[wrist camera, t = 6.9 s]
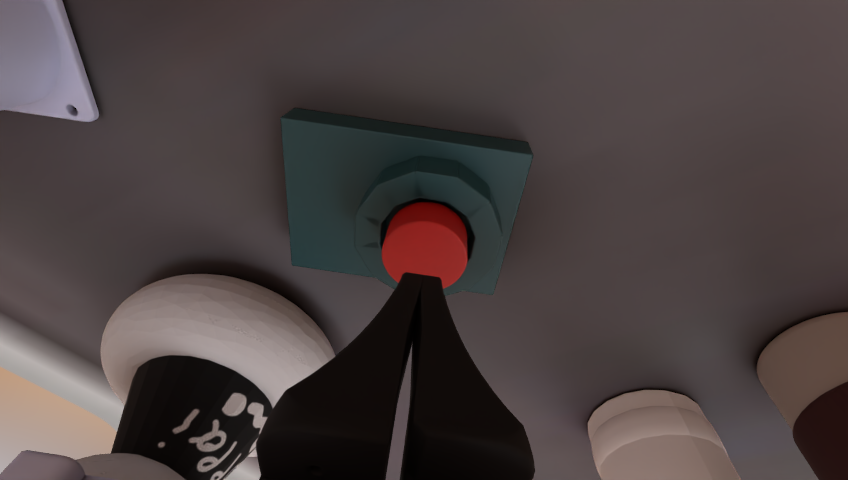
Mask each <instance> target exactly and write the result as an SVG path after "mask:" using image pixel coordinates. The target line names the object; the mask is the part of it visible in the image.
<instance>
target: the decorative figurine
mask: <svg viewBox="0 0 848 480" xmlns="http://www.w3.org/2000/svg"><path fill="white" fill-rule="evenodd" d="M334 357H335V354H334V351H333V348H332V347H331V345H330V343H329V341H328V339H327V338H326V336H325V335H324V333H323V331H322V330H321V329H320V328H319V327H318V325H317V324H316V323H315V322H314V321H313V320H312V319H311V318H310V317H309V316H308V315H307V314H306V313H305V312H303V311H302V310H301V309H300V308H299V307H298V306H296V305H295V304H293V303H292V302H290V301H289V300H287V299H286V298H284V297H282V296H281V295H279V294H277V293H275V292H273V291H271V290H269V289H267V288H264V287H262V286H260V285H257V284H255V283H252V282H248V281H245V280H241V279H238V278H234V277H229V276H224V275H213V274H187V275H179V276H173V277H170V278H166V279H163V280H159V281H157V282H154V283H152V284H149V285H147V286H144V287H143V288H141V289H140V290H138V291H137V292H135V293H134V294H132V295H131V296H130V297H128V298H127V299H126V300H125V301H123V302H122V304H121V305H120V306H119V307H118V308H117V309H116V311H115V312H114V314H113V315H112V316H111V318H110V319H109V321H108V323H107V325H106V328H105V330H104V333H103V337H102V343H101V361H102V367H103V370H104V372H105V375H106V378H107V380H108V382H109V384H110V386H111V388H112V390H113V392H114V393H115V394H116V395H117V397H118V398H119V399H120V400H121V402H122V403H123V404H124V405H125V407H124V410H123V413H122V417H121V420H120V424H119V427H118V431H117V434H116V438H115V441H114V444H113V448H112V451H111V454H100V455H93V456H89V457H85V458H81V459H78V460H76V461H77V462H78V463H80V464H81V466H82V467H83V470H84V472H85V475H91V476H98V477H105V478H111V479H118V480H224V479H225V478H226V477H227V476H228V475H229V474H230V473H231V472H232V471H233V470H234V469H235V468H236V467H237V466H238V465H239V464H240V463H241V462H242V461H243V460H244V459H245V458H246V457H257V452H256V441H257V439H258V437H259V435H260V433H261V430H262V428H263V426H264V424H265V422H266V420H267V418H268V416H269V414H270V413H271V411H272V409H273V408H274V406H275V405H276V403H277V402H278V400H279V399H280V397H281V396H282V395H283V393H284V392H285V391H286V390H287V389H288V388H290V387H292V386H293V385H295V384H296V383H298V382H300V381H301V380H303V379H304V378H306V377H308V376H309V375H311V374H312V373H314V372H315V371H317V370H318V369H319V368H321V367H322V366H323V365H325V364H326V363H327V362H329V361H330V360H331V359H333V358H334Z"/></svg>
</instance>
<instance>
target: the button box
mask: <svg viewBox="0 0 848 480" xmlns="http://www.w3.org/2000/svg"><path fill="white" fill-rule="evenodd" d="M281 131H282V144H283V157H284V170H285V183H286V196H287V209H288V222H289V234H290V247H291V260H292V265H293V266H300V267H307V268H313V269H320V270H327V271H334V272H340V273H347V274H354V275H361V276H367V277H374V278H377V279H379V280H380V281H382V282H383V283H385V284H387V285H388V286H390V287H392V288H393V289H396V287H397V285H398V282H397V281H395V280H394V279H393V278H392V277H391V276H390V275H389V273H388V272H387V270H386V269H385V266H384V264H383V261H382V246H383V243H384V240H385V237H386V233H387V230H388V227H389V224H390V222H391V220H392V218H393V217H394V215H395V214H396V213H397V212H398V211H400V210H401V209H402V208H404V207H406V206H408V205H410V204H414V203H418V202H433V203H438V204H441V205H444V206H446V207H448V208H449V209H451V210H452V211H454V212H455V213H456V214H457V215H458V216H459V217H460V218H461V220H462V221H463V223H464V225H465V228H466V231H467V254H468V260H467V265H466V268H465V270H464V272H463V274H462V275H461V277H460V278H459V279H458V280H457V281H456V282H455V283H453V284H452V285H450V286H448V287H446V288H444V289H443V291H444V295H445V296H446V295H450V294H454V293H457V292H461V291H468V292H475V293H482V294H488V295H493V294H494V290H495V287H496V283H497V280H498V276H499V273H500V269H501V266H502V263H503V259H504V256H505V252H506V249H507V245H508V242H509V238H510V235H511V231H512V228H513V224H514V221H515V218H516V214H517V211H518V207H519V204H520V200H521V197H522V193H523V190H524V186H525V183H526V180H527V176H528V173H529V169H530V166H531V162H532V159H533V153H532V151H531V148H530V146H529V144H528V142H523V141H516V140H509V139H502V138H496V137H489V136H482V135H475V134H468V133H462V132H455V131H448V130H441V129H435V128H428V127H421V126H414V125H408V124H401V123H394V122H387V121H380V120H374V119H367V118H360V117H353V116H347V115H340V114H333V113H326V112H319V111H313V110H306V109H299V108H294V109H292V110H291V111H289V112H288V113H286V114H285V115H284V116H282V117H281Z"/></svg>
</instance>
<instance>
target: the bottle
mask: <svg viewBox="0 0 848 480" xmlns="http://www.w3.org/2000/svg"><path fill="white" fill-rule="evenodd" d="M588 435H589V438H590V442H591V445H592V453H593V458H594V461H595V465H596V468H597V471H598V474H599V475H600V477H601V480H741V478H740V477H739V475H738V473H737V471H736V470H735V468H734V466H733V464H732V463H731V461H730V459H729V456H728V454H727V452H726V450H725V448H724V446H723V444H722V442H721V440H720V438H719V436H718V434H717V433H716V431H715V429H714V428H713V426H712V425H711V423H710V422H709V421H708V420H707V419H706V417H705V415H704V414H703V412H702V410H701V408H700V407H699V405H698V404H697V403H696V402H694V401H693V400H691V399H690V398H688V397H687V396H685V395H681V394H677V393H674V392H670V391H666V390H640V391H635V392H630V393H624V394H622V395H620V396H617V397H615V398H612V399H610V400H608V401H606V402H605V403H604V404H603V405H601V406H600V407H599V408H597V409H596V410H595V411H594V412H593V414H592V416H591V417H590V419H589V421H588Z"/></svg>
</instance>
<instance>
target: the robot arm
mask: <svg viewBox="0 0 848 480" xmlns="http://www.w3.org/2000/svg"><path fill="white" fill-rule="evenodd" d="M73 106H74V107H75V108H76V109H77V111H78V112H77V111H75V109H74V108H73ZM1 110H9V111H16V112H23V113H30V114H36V115H43V116H50V117H57V118H63V119H70V120H77V121H84V122H91V121H94V120H96V119H98V117H99V111H98V108H97V105H96V102H95V99H94V96H93V93H92V90H91V87H90V84H89V81H88V78H87V75H86V72H85V68H84V65H83V62H82V59H81V56H80V53H79V50H78V47H77V44H76V41H75V38H74V35H73V32H72V29H71V26H70V23H69V20H68V17H67V13H66V10H65V7H64V4H63V1H62V0H0V111H1ZM412 341H413V343H412ZM411 345H412V367H411V392H410V406H409V415H408V422H407V430H406V437H405V445H404V452H403V460H402V467H401V474H400V480H532V479H533V476H534V473H535V468H534V460H533V455H532V451H531V447H530V444H529V441H528V437H527V435H526V432H525V429H524V426H523V425H522V424H521V423H520V422H519V421H518V419H517V418H516V417H515V416H514V415H513V414H512V413H511V412H510V411H509V410H508V409H507V408H506V406H505V405H504V404H503V403H502V402H501V400H500V399H499V398H498V397H497V395H496V394H495V393H494V392H493V390H492V389H491V387H490V386H489V384H488V383H487V382H486V380H485V379H484V377H483V376H482V375H481V373H480V372H479V370H478V369H477V367H476V365H475V364H474V362H473V360H472V359H471V357H470V355H469V353H468V352H467V350H466V348H465V346H464V344H463V342H462V340H461V338H460V336H459V334H458V331H457V329H456V327H455V324H454V322H453V319H452V317H451V314H450V311H449V309H448V306H447V302H446V299H445V295H444V291H443V286H442V280H441V279H440V277H435V276H429V275H422V274H415V273H409V272H405V273H404V274H402V277H401V279H400V281H399V283H398V285H397V287H396V289H395V290H394V292H393V293H392V295H391V296H390V298H389V299H388V301H387V302H386V304H385V305H384V306H383V308H382V309H381V310H380V312H379V313H378V314H377V315H376V316H375V318H374V319H373V320H372V321H371V322H370V324H369V325H368V326H367V327H366V328H365V329H364V330H363V331H362V332H361V333H360V334H359V335H358V336H357V337H356V338H355V339H354V340H353V341H352V342H351V343H350V344H349V345H348V346H347V347H346V348H344V349H343V350H342V351H341V352H340V353H339V354H338V355H336V356H335V357H334V358H333V359H331V360H330V361H329V362H327V363H326V364H325V365H323V366H322V367H321V368H319V369H318V370H317V371H315V372H314V373H312V374H311V375H309V376H308V377H306V378H304V379H303V380H301V381H300V382H298V383H296V384H295V385H293V386H292V387H290V388H288V389H287V390H286V391H285V392H284V393H283V395H282V396H281V397H280V399H279V400H278V402H277V403H276V405H275V406H274V408H273V409H272V411H271V413H270V414H269V416H268V418H267V420H266V422H265V424H264V426H263V428H262V430H261V433H260V435H259V437H258V439H257V441H256V452H257V457H258V462H259V467H260V472H261V477H260V479H259V480H385V479H386V472H387V466H388V459H389V453H390V446H391V440H392V433H393V427H394V421H395V414H396V408H397V403H398V398H399V393H400V389H401V385H402V381H403V377H404V373H405V369H406V365H407V361H408V357H409V353H410V349H411ZM0 480H118V479H111V478H105V477H98V476H91V475H85V472H84V470H83V467H82V466H81V464H80V463H78V462H77V461H76V460H74V459H72V458H70V457H66V456H61V455H55V454H49V453H42V452H36V451H28V450H26V451H22V452H21V453H20V454H19V455H18V456H17V457H16V458H15V459H14V460H13V461H12V463H10V464H9V465H8V466H7V467H6V468H5V470H4V471H3V472H2V473H1V474H0Z"/></svg>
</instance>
